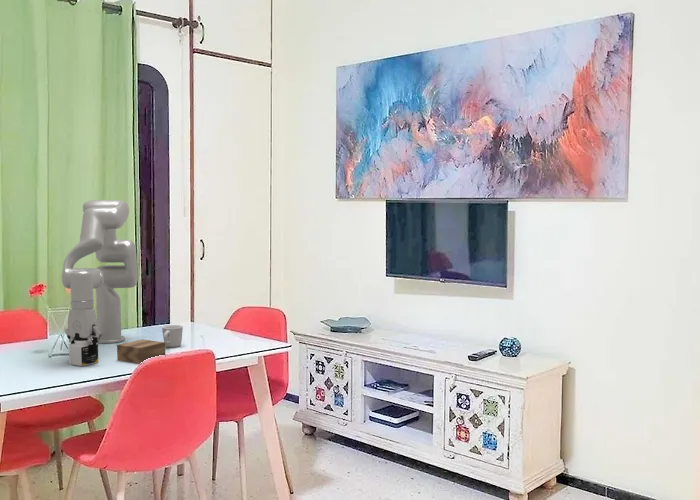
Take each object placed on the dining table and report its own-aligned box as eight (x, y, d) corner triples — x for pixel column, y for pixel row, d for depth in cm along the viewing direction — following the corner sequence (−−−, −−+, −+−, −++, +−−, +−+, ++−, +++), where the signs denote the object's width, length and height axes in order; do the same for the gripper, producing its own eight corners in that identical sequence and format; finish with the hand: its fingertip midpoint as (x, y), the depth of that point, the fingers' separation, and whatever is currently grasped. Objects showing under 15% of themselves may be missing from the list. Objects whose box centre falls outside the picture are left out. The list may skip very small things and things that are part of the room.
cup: (174, 350, 273) (174, 329, 272) (155, 349, 274) (155, 329, 274) (186, 344, 283) (186, 325, 283) (168, 344, 285) (167, 324, 284)
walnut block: (117, 361, 255) (117, 344, 255) (142, 355, 265) (142, 339, 265) (140, 364, 249) (140, 348, 248) (165, 358, 259) (165, 342, 259)
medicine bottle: (82, 366, 245) (80, 332, 244) (69, 364, 249) (68, 330, 248) (98, 362, 251) (98, 329, 250) (86, 360, 255) (85, 327, 254)
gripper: (55, 305, 249) (57, 354, 250) (93, 308, 242) (94, 358, 243) (72, 302, 256) (73, 350, 257) (108, 305, 249) (110, 354, 250)
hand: (83, 353), depth 250 cm, fingers closed on medicine bottle, 7 cm apart
